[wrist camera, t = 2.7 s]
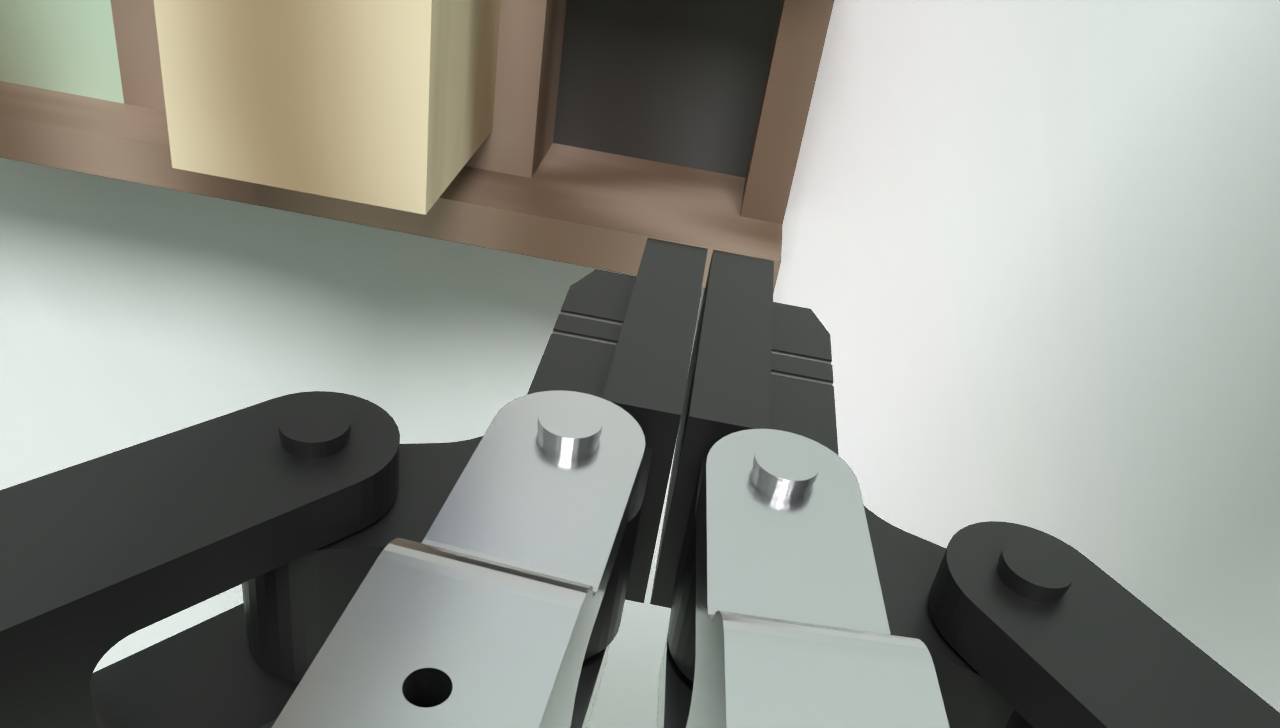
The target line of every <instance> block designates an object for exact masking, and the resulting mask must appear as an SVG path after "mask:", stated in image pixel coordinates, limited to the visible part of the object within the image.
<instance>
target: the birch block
mask: <svg viewBox="0 0 1280 728" xmlns="http://www.w3.org/2000/svg"><path fill="white" fill-rule="evenodd" d="M500 5H501V0H154V9H155V18H156V27H157V36H158V45H159V54H160V63H161V72H162V81H163V90H164V99H165V107H166V116H167V125H168V134H169V143H170V152H171V161H172V168H176V169H181V170H187V171H192V172H197V173H203V174H208V175H214V176H219V177H224V178H230V179H235V180H240V181H246V182H251V183H257V184H262V185H267V186H273V187H278V188H284V189H289V190H294V191H300V192H305V193H311V194H316V195H321V196H327V197H332V198H338V199H343V200H348V201H354V202H359V203H365V204H370V205H375V206H381V207H386V208H391V209H397V210H402V211H408V212H413V213H418V214H424V215H426V214H427V212H428V211H429V210H430V209H431V207H432V206H433V205H434V204H435V202H436V201H437V200H438V198H439V197H440V196H441V195H442V193H443V192H444V191H445V190H446V188H447V187H448V186H449V185H450V183H451V182H452V181H453V179H454V178H455V177H456V176H457V174H458V173H459V172H460V171H461V169H462V168H463V167H464V166H465V164H466V163H467V162H468V161H469V159H470V158H471V157H472V155H473V154H474V153H475V152H476V150H477V149H478V148H479V147H480V145H481V144H482V143H483V142H484V140H485V139H486V138H487V136H488V135H489V134H490V133H491V131H492V130H493V116H494V100H495V84H496V68H497V52H498V37H499V21H500Z"/></svg>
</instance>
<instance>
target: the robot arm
mask: <svg viewBox="0 0 1280 728" xmlns="http://www.w3.org/2000/svg"><path fill="white" fill-rule="evenodd" d="M707 251H708V249H707V248H701V247H696V246H690V245H685V244H679V243H674V242H669V241H663V240H658V239H652V238H647V241H646V245H645V248H644V252H643V255H642V259H641V262H640V266H639V270H638V273H637V277H634V276H629V275H623V274H618V273H613V272H607V271H602V270H595V271H593V272H592V273H590V274H589V275H587V276H585V277H584V278H582V279H581V280H579V281H578V282H576V283H575V284H573V285H572V286H570V289H569V291H568V294H567V296H566V299H565V301H564V304H563V306H562V309H561V314H559V316H558V319H557V321H556V324H555V326H554V329H553V334H551V336H550V339H549V341H548V344H547V346H546V349H545V351H544V354H543V356H542V359H541V361H540V364H539V366H538V369H537V371H536V374H535V376H534V379H533V381H532V384H531V386H530V389H529V391H528V394H527V395H525V396H522V397H519V398H517V399H515V400H513V401H511V402H510V403H508V404H506V405H505V406H504V407H503V408H502V409H501V410H500V411H499V412H498V413H497V415H496V416H495V417H494V419H493V421H492V422H491V424H490V426H489V428H488V429H487V431H486V433H485V435H484V436H482V437H478V438H474V439H471V440H465V441H459V442H451V443H427V444H400V434H399V430H398V426H397V425H396V423H395V421H394V420H393V418H392V417H391V416H390V415H389V414H388V413H387V412H386V411H385V410H383V409H382V408H381V407H379V406H378V405H376V404H374V403H372V402H370V401H368V400H365V399H362V398H360V397H357V396H353V395H348V394H344V393H336V392H319V391H314V392H301V393H295V394H289V395H285V396H281V397H278V398H274V399H271V400H268V401H265V402H262V403H259V404H256V405H253V406H250V407H247V408H244V409H241V410H238V411H235V412H232V413H229V414H227V415H224V416H221V417H218V418H215V419H212V420H209V421H206V422H203V423H200V424H197V425H194V426H191V427H188V428H185V429H182V430H179V431H176V432H173V433H170V434H167V435H164V436H161V437H158V438H155V439H152V440H149V441H146V442H143V443H140V444H137V445H134V446H131V447H128V448H125V449H122V450H119V451H116V452H113V453H110V454H107V455H104V456H102V457H99V458H96V459H93V460H90V461H87V462H84V463H81V464H78V465H75V466H72V467H69V468H66V469H63V470H60V471H57V472H54V473H51V474H48V475H45V476H42V477H39V478H36V479H33V480H30V481H27V482H24V483H21V484H18V485H15V486H12V487H9V488H6V489H3V490H0V728H587V725H588V721H589V718H590V715H591V711H592V708H593V705H594V701H595V698H596V695H597V691H598V688H599V685H600V681H601V678H602V675H603V671H604V668H605V665H606V659H607V654H608V648H609V644H610V643H611V642H612V640H613V639H614V637H615V636H616V634H617V632H618V629H619V626H620V622H621V617H622V612H623V606H624V601H625V599H626V600H631V601H636V602H641V603H644V599H645V594H646V589H647V584H648V579H649V574H650V569H651V564H652V559H653V554H654V549H655V544H656V539H657V534H658V529H659V524H660V519H661V514H662V509H663V504H664V499H665V494H666V489H667V484H668V479H669V474H670V469H671V464H672V459H673V454H674V459H673V465H672V472H671V478H670V484H669V490H668V497H667V503H666V509H665V515H664V521H663V528H662V534H661V540H660V546H659V553H658V559H657V565H656V571H655V577H654V584H653V590H652V596H651V602H650V604H653V605H658V606H663V607H668V608H671V615H670V622H669V629H668V635H667V639H666V644H665V648H664V653H663V657H662V662H661V666H660V672H659V688H658V712H657V728H1280V713H1279V712H1278V711H1276V710H1275V709H1274V708H1273V707H1272V706H1270V705H1269V704H1268V703H1267V702H1265V701H1264V700H1263V699H1262V698H1260V697H1259V696H1258V695H1257V694H1255V693H1254V692H1253V691H1252V690H1250V689H1249V688H1248V687H1247V686H1245V685H1244V684H1243V683H1242V682H1240V681H1239V680H1238V679H1237V678H1235V677H1234V676H1233V675H1232V674H1231V673H1229V672H1228V671H1227V670H1226V669H1224V668H1223V667H1222V666H1221V665H1219V664H1218V663H1217V662H1216V661H1214V660H1213V659H1212V658H1211V657H1209V656H1208V655H1207V654H1206V653H1204V652H1203V651H1202V650H1201V649H1199V648H1198V647H1197V646H1196V645H1194V644H1193V643H1192V642H1191V641H1190V640H1188V639H1187V638H1186V637H1185V636H1183V635H1182V634H1181V633H1180V632H1178V631H1177V630H1176V629H1175V628H1173V627H1172V626H1171V625H1170V624H1168V623H1167V622H1166V621H1165V620H1163V619H1162V618H1161V617H1160V616H1158V615H1157V614H1156V613H1155V612H1153V611H1152V610H1151V609H1150V608H1148V607H1147V606H1146V605H1145V604H1144V603H1142V602H1141V601H1140V600H1139V599H1137V598H1136V597H1135V596H1134V595H1132V594H1131V593H1130V592H1129V591H1127V590H1126V589H1125V588H1124V587H1122V586H1121V585H1120V584H1119V583H1117V582H1116V581H1115V580H1114V579H1112V578H1111V577H1110V576H1109V575H1107V574H1106V573H1105V572H1104V571H1103V570H1101V569H1100V568H1099V567H1098V566H1096V565H1095V564H1094V563H1093V562H1091V561H1090V560H1089V559H1088V558H1086V557H1085V556H1084V555H1082V554H1081V553H1080V552H1078V551H1077V550H1076V549H1074V548H1073V547H1071V546H1070V545H1068V544H1066V543H1064V542H1063V541H1061V540H1059V539H1057V538H1055V537H1053V536H1051V535H1049V534H1047V533H1044V532H1042V531H1039V530H1036V529H1034V528H1030V527H1027V526H1023V525H1019V524H1014V523H1007V522H992V521H991V522H981V523H976V524H972V525H969V526H967V527H965V528H963V529H961V530H959V531H958V532H957V533H956V534H955V535H954V536H953V537H952V539H951V540H950V542H949V544H948V546H947V549H946V548H943V547H941V546H939V545H936V544H934V543H931V542H929V541H927V540H924V539H922V538H919V537H917V536H915V535H912V534H910V533H907V532H905V531H903V530H901V529H899V528H897V527H895V526H893V525H891V524H889V523H887V522H886V521H884V520H882V519H881V518H879V517H878V516H876V515H875V514H874V513H872V512H871V511H869V510H868V509H867V508H866V507H865V506H864V505H863V501H862V496H861V491H860V486H859V483H858V480H857V478H856V476H855V474H854V473H853V471H852V469H851V468H850V467H849V466H848V465H847V463H846V462H845V461H844V460H843V459H842V458H840V457H839V456H838V443H837V429H836V414H835V400H834V387H833V386H832V384H833V371H832V365H831V361H832V356H831V342H830V334H829V333H828V331H827V330H826V329H825V327H824V326H823V325H822V323H821V322H820V321H819V319H818V318H817V317H816V315H815V314H814V313H813V311H812V310H811V309H808V308H802V307H797V306H791V305H786V304H781V303H775V302H773V278H774V261H773V260H767V259H762V258H756V257H751V256H746V255H740V254H735V253H729V252H724V251H718V250H713V252H712V257H711V261H710V266H709V271H708V276H707V281H706V286H705V291H704V296H703V301H702V306H701V311H700V316H699V321H698V326H697V331H696V336H695V341H694V346H693V351H692V345H693V339H694V332H695V326H696V320H697V314H698V307H699V301H700V295H701V289H702V282H703V276H704V270H705V264H706V257H707ZM691 351H692V356H691ZM690 357H691V361H690ZM689 364H690V366H689ZM688 370H689V371H688ZM687 376H688V377H687ZM676 439H677V440H676ZM675 444H676V447H675ZM674 449H675V453H674ZM240 584H242V590H243V601H244V603H243V604H241V605H238V606H236V607H234V608H232V609H230V610H228V611H225V612H223V613H221V614H219V615H217V616H215V617H213V618H210V619H208V620H206V621H204V622H202V623H200V624H198V625H195V626H193V627H191V628H189V629H187V630H185V631H182V632H180V633H178V634H176V635H174V636H172V637H170V638H167V639H165V640H163V641H161V642H159V643H157V644H154V645H152V646H150V647H148V648H146V649H144V650H142V651H139V652H137V653H135V654H133V655H131V656H129V657H127V658H124V659H122V660H120V661H118V662H116V663H114V664H111V665H109V666H107V667H105V668H103V669H101V670H99V671H96V672H94V673H93V671H94V669H95V667H96V665H97V663H98V662H99V661H100V659H101V658H102V657H103V656H104V654H105V653H106V652H107V651H108V650H109V649H110V648H111V647H113V646H114V645H115V644H116V643H118V642H119V641H120V640H122V639H123V638H125V637H126V636H128V635H130V634H132V633H134V632H136V631H138V630H140V629H142V628H145V627H147V626H149V625H151V624H154V623H156V622H158V621H160V620H162V619H165V618H167V617H169V616H171V615H173V614H176V613H178V612H180V611H182V610H185V609H187V608H189V607H191V606H193V605H196V604H198V603H200V602H202V601H204V600H207V599H209V598H211V597H213V596H216V595H218V594H220V593H222V592H224V591H227V590H229V589H231V588H233V587H235V586H238V585H240Z"/></svg>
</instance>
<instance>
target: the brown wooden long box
mask: <svg viewBox="0 0 1280 728" xmlns="http://www.w3.org/2000/svg"><path fill="white" fill-rule="evenodd" d="M833 3H834V0H501V5H500V21H499V37H498V52H497V68H496V84H495V100H494V116H493V130H492V131H491V133H490V134H489V135H488V136H487V138H486V139H485V140H484V142H483V143H482V144H481V145H480V147H479V148H478V149H477V150H476V152H475V153H474V154H473V155H472V157H471V158H470V159H469V161H468V162H467V163H466V164H465V166H464V167H463V168H462V169H461V171H460V172H459V173H458V174H457V176H456V177H455V178H454V179H453V181H452V182H451V183H450V185H449V186H448V187H447V188H446V190H445V191H444V192H443V193H442V195H441V196H440V197H439V198H438V200H437V201H436V202H435V204H434V205H433V206H432V207H431V209H430V210H429V211H428V212H427V214H426V215H424V214H418V213H413V212H408V211H402V210H397V209H391V208H386V207H381V206H375V205H370V204H365V203H359V202H354V201H348V200H343V199H338V198H332V197H327V196H321V195H316V194H311V193H305V192H300V191H294V190H289V189H284V188H278V187H273V186H267V185H262V184H257V183H251V182H246V181H240V180H235V179H230V178H224V177H219V176H214V175H208V174H203V173H197V172H192V171H187V170H181V169H176V168H172V161H171V152H170V143H169V134H168V125H167V116H166V107H165V99H164V90H163V81H162V72H161V63H160V54H159V45H158V36H157V27H156V18H155V9H154V0H0V157H2V158H7V159H12V160H18V161H23V162H28V163H34V164H39V165H45V166H50V167H55V168H61V169H66V170H71V171H77V172H82V173H87V174H93V175H98V176H104V177H109V178H114V179H120V180H125V181H130V182H136V183H141V184H147V185H152V186H157V187H163V188H168V189H173V190H179V191H184V192H189V193H195V194H200V195H206V196H211V197H216V198H222V199H227V200H232V201H238V202H243V203H248V204H254V205H259V206H265V207H270V208H275V209H281V210H286V211H291V212H297V213H302V214H308V215H313V216H318V217H324V218H329V219H334V220H340V221H345V222H350V223H356V224H361V225H367V226H372V227H377V228H383V229H388V230H393V231H399V232H404V233H409V234H415V235H420V236H426V237H431V238H436V239H442V240H447V241H452V242H458V243H463V244H469V245H474V246H479V247H485V248H490V249H495V250H501V251H506V252H511V253H517V254H522V255H528V256H533V257H538V258H544V259H549V260H554V261H560V262H565V263H570V264H576V265H581V266H587V267H592V268H597V269H603V270H608V271H613V272H619V273H624V274H630V275H635V276H637V273H638V270H639V266H640V262H641V259H642V255H643V252H644V248H645V245H646V241H647V238H652V239H658V240H663V241H669V242H674V243H679V244H685V245H690V246H696V247H701V248H707V249H708V251H707V257H706V264H705V270H704V276H703V282H702V288H705V286H706V281H707V276H708V271H709V266H710V261H711V257H712V252H713V250H718V251H724V252H729V253H735V254H740V255H746V256H751V257H756V258H762V259H767V260H773V261H774V278H773V292H774V288H775V284H776V280H777V275H778V271H779V267H780V263H781V246H782V224H783V219H784V215H785V211H786V206H787V202H788V198H789V193H790V189H791V185H792V180H793V176H794V172H795V167H796V163H797V159H798V154H799V150H800V146H801V141H802V137H803V133H804V128H805V124H806V120H807V115H808V111H809V107H810V102H811V98H812V94H813V89H814V85H815V81H816V76H817V72H818V68H819V63H820V59H821V55H822V50H823V46H824V42H825V38H826V33H827V29H828V25H829V20H830V16H831V12H832V7H833Z"/></svg>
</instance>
